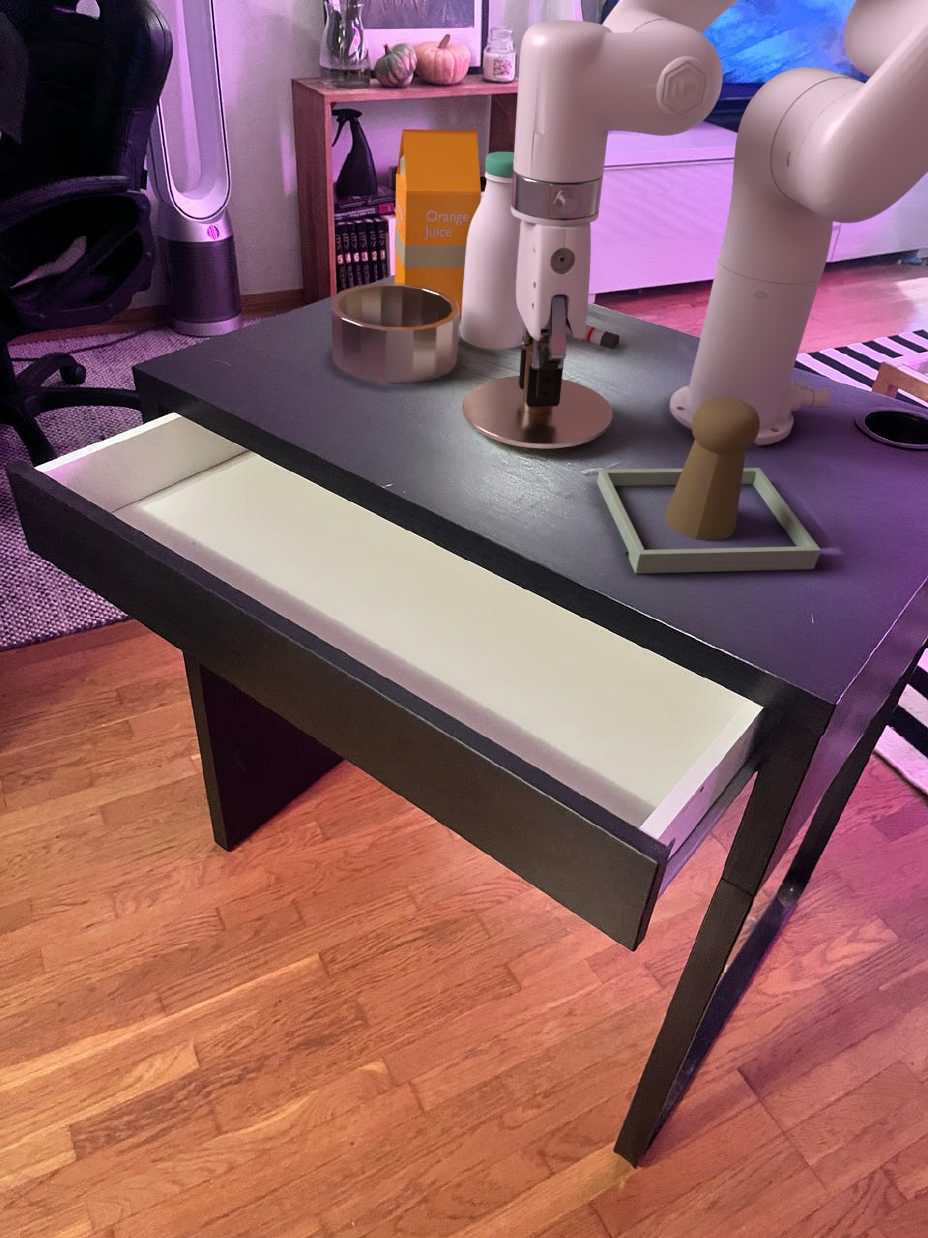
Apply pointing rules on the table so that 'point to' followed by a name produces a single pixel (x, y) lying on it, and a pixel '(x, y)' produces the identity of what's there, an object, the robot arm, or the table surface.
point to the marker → (598, 337)
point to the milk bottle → (493, 263)
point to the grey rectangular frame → (713, 557)
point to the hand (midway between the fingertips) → (538, 394)
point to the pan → (394, 332)
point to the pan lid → (536, 413)
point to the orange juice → (435, 208)
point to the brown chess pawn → (713, 470)
